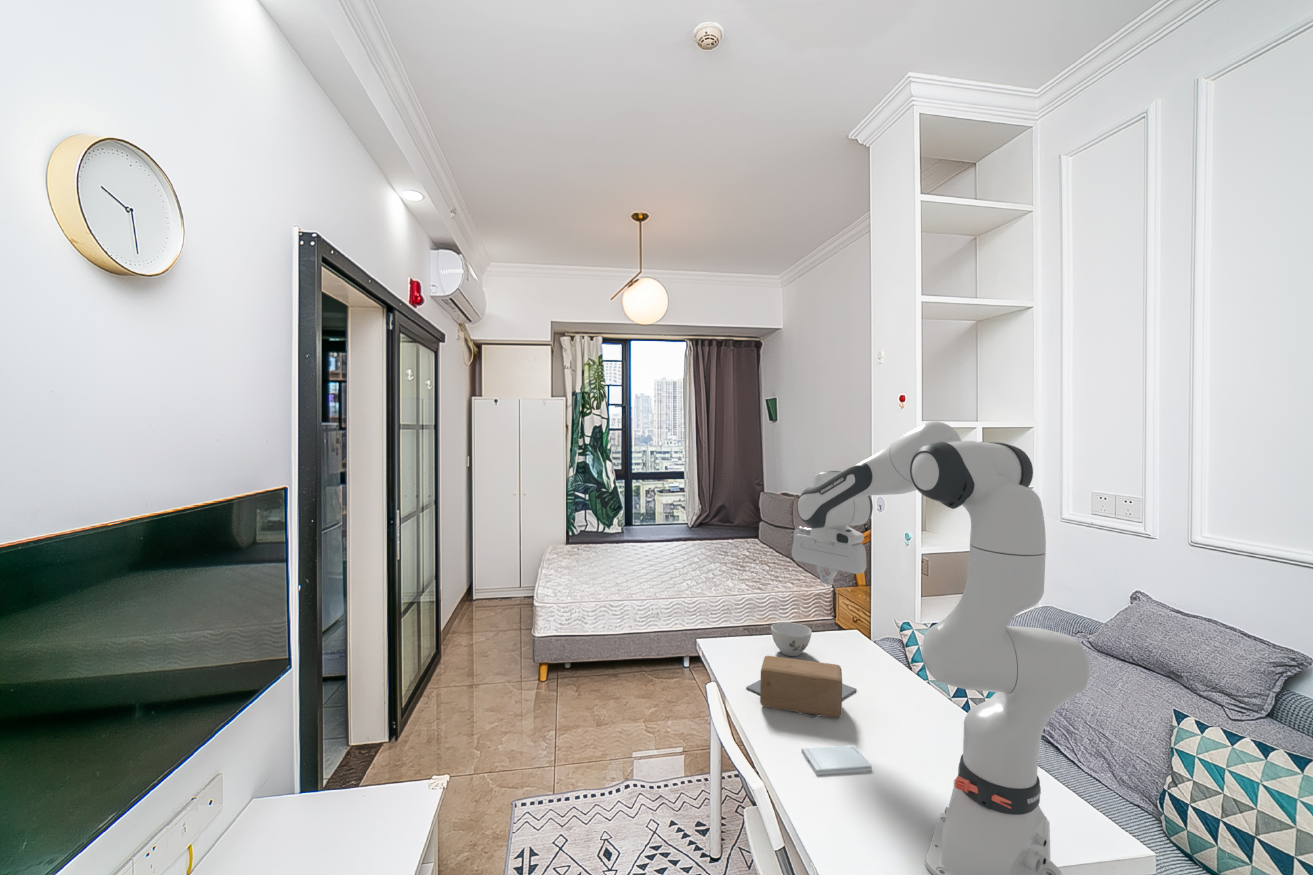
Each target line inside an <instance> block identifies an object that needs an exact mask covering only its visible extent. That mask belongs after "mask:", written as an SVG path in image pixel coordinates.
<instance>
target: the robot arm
mask: <svg viewBox="0 0 1313 875" xmlns="http://www.w3.org/2000/svg"><path fill="white" fill-rule="evenodd" d="M1033 477H1034V469H1033V463H1032V460H1031V459H1030V457H1029V456H1028V454H1027V453H1026V452H1025V451H1023V449H1021V448H1019V447H1017V446H1014V445H1012V444H1009V443H1004V442H999V441H975V440H962V439H961V437H960V435H959V434H958V432H957V431H956V430H955V429H954V427H951V426H950V425H949V424H947V423H944V422H940V421H928V422H925V423H924V424H920V425H918V426H916V427H915V428H912V429H911V430H908V431H907V432H906V433H904V434H902V435H900V436H899V437H898V438H897V439H895V440H894V441H893V442H891V443H890V444H889V445H887V446H886V447H885V448H883V449H881V450H879V451H878V452H876V453H875V454H873V455H871V456H869V457H867V458H866V459H864V460H862V461H860V462H858V463H856V464H854V465H852V466H851V467H848V468H847V469H845V470H843V471H840V470H829V471H819V472H817V473H816V474H815V475H814V477H813V482H812V486H808V487H806V488H805V489H804V490H803V491H802V492H801V493H800V495H799V497H798V500H797V502H796V511H797V515H798V517H799V518H800V520H801V521H802V522H803V523H804V524H805V525H806V526H808V527H803V526H798V527H797V528H795V529H794V530H793V542H792V545H791V546H792V547H791V557H792V559H793V560H794V561H797V562H801V563H805V564H811V565H815V566H816V572H817V573H818V575H819V583H821V584H826V585H829V586H831V585H833V584H834V580H835V579H834V578H835V576H836V575H837V573H838V572H839V571H842V572H846V573H850V574H854V575H855V574H856V575H859V574H862V573H864V572H865V571H866V569H867V552H866V548H865V545H864V544H863V542H864V540H865V535H864V534H863V533H862V532H860V531H857V530H855V528H852V527H850V526H860V525H861V526H862V525H865V524H867V523H868V521H869V520H870V519H871V517H872V514H873V510H874V509H873V508H874V507H873V500H872V496H886V495H888V496H889V495H891V496H892V495H903V494H907V493H911V492H914V491H918V492H919V493H920V494H921V495H923V496H924V497H926V498H928V499H931V500H933V501H936V502H938V503H941V504H942V505H944V506H945V507H947V508H950V509H952V510H954V509H957V508H959V507H961V506H962V507H963V508H964V509H965V510H966V511H967V512H968V515H969V519H970V535H969V536H970V537H969V538H970V539H969V558H968V569H967V577H966V584H965V587H964V591H963V594H962V596H961V597H960V599H959V601H958V603H957V604H956V605H955V607H954V609H952V611H951V612H949V613H948V615H947V616H945V618H943V619H942V620H941V621H939V622H937V623H936V624H934V625H932V626H931V627H930V628H928V630H927V631H926V633H925V634H924V635H923V638H922V643H921V648H920V649H921V657H922V661H923V664H924V666H925V669H926V670H927V671H928V673H929V675H931V677H932V678H933V679H934V680H935V681H937V682H938V683H941V684H944V685H948V686H951V687H955V688H958V689H963V690H966V691H979V692H990V693H994V694H992V696H991V697H990V698H988V699H987V700H985V701H984V702H981V703H978V704H976V705H975V706H973V707H972V708H970V709H969V711H968V712H967V713H966V715H965V717H964V720H963V738H962V739H963V740H962V741H963V742H962V743H963V744H962V746H963V747H962V748H963V749H962V754H961V755H960V760H959V763H958V768H957V776H956V778H954V779H953V788H952V793H951V795H950V800H949V804H948V806H945V809H944V812H941V813H940V814H939V816H938V819H937V822H936V825H935V829H934V832H933V835H932V839H931V842H930V844H929V847H928V850H927V854H926V858H925V864H924V865H925V868H926V869H927V870H928V871H929V872H930V874H931V875H1063V874H1062V871H1061V870H1060V868H1059V867H1058V866H1057V865H1056V864H1055V863H1054V862H1053V861H1052V860H1051V830H1050V829H1051V826H1050V821H1049V820H1048V818H1047V816H1046V814H1045V813H1044V812H1043V811H1042V809H1041V807H1040V802H1041V801H1040V800H1041V799H1040V798H1041V793H1042V792H1041V791H1042V790H1041V781H1040V778H1039V775H1038V768H1039V767H1038V766H1039V765H1038V764H1039V754H1040V745H1041V739H1042V735H1043V732H1044V730H1045V727H1046V725H1047V724H1048V722H1049V720H1050V719H1051V717H1052V716H1053V715H1054V713H1055V712H1056V711H1057V710H1058V709H1059V708H1060V707H1061V706H1062V705H1063V704H1064V703H1066V702H1067V701H1068V700H1070V699H1072V697H1074V696H1076V695H1079V694H1081V693H1082V692H1083V691H1084V690H1086V688H1087V686H1088V684H1089V682H1090V678H1091V673H1092V669H1091V662H1090V659H1089V657H1088V655H1087V653H1086V651H1085V649H1084V648H1083V646H1082V645H1081V644H1080V643H1079V641H1078V640H1076V639H1075V638H1074V637H1073V636H1072V635H1070V634H1065V633H1062V632H1058V631H1054V630H1052V629H1051V630H1050V629H1045V628H1042V627H1031V626H1018V625H1017V626H1013V625H1009V624H1010V622H1012V620H1013V619H1014V618H1015V617H1016V616H1017V615H1018V614H1021V613H1022V612H1024V611H1027V610H1029V609H1031V608H1033V607H1035V606H1036V605H1038V603H1039V602H1040V601H1041V600H1042V598H1043V595H1044V594H1045V578H1046V574H1045V573H1046V572H1045V571H1046V554H1047V553H1046V552H1047V548H1046V546H1047V544H1046V543H1047V537H1046V526H1045V525H1046V524H1045V517H1044V510H1043V506H1042V501H1041V498H1040V496H1039V495H1038V494H1037V493H1036V492H1035V491H1034V490H1032V488H1029V487H1030V485H1031V483H1032V481H1033ZM826 568H828V572H829V575H826V572H825V570H826ZM824 569H825V570H824Z"/></svg>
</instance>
